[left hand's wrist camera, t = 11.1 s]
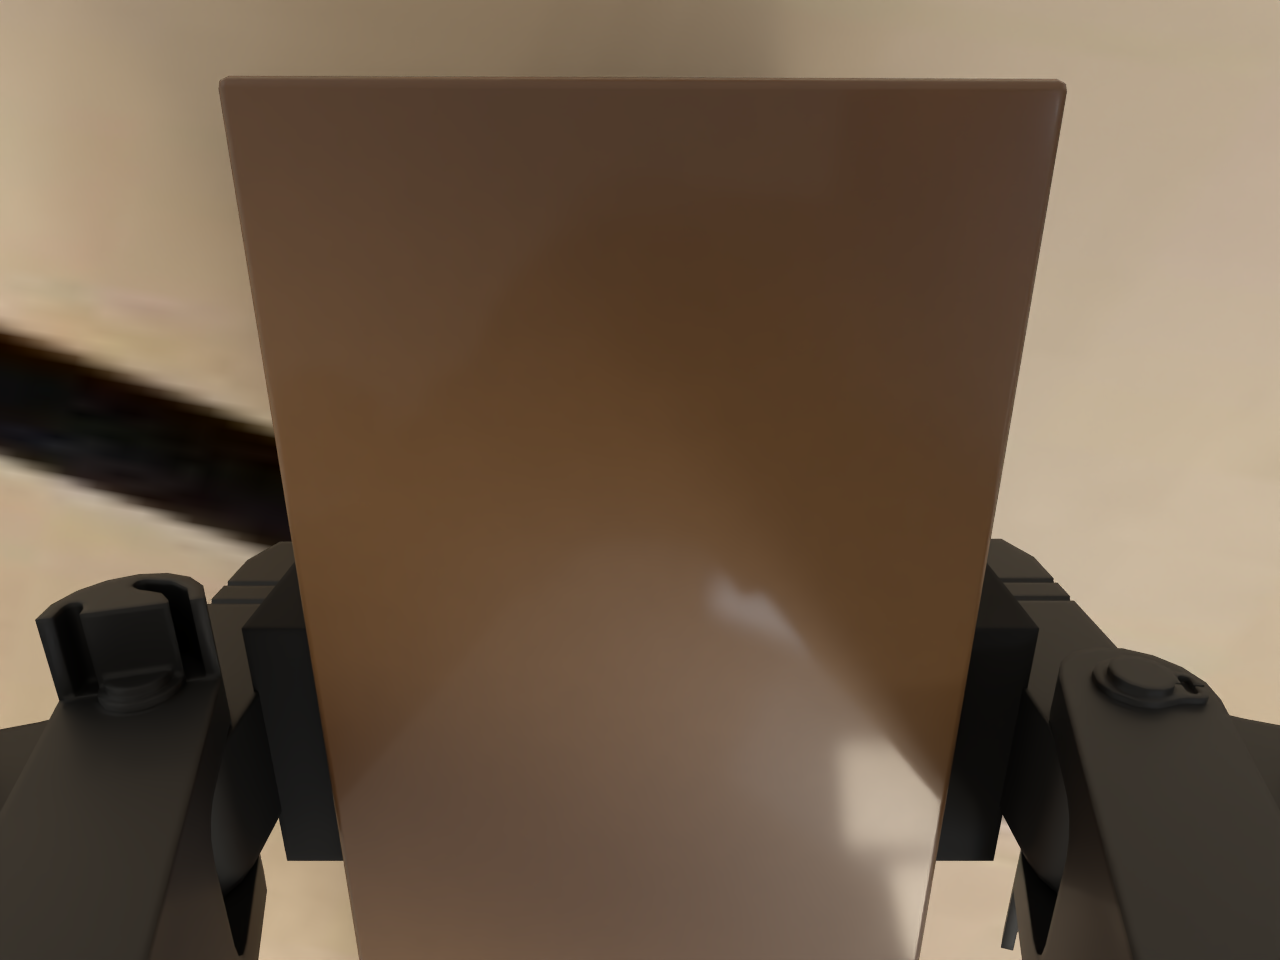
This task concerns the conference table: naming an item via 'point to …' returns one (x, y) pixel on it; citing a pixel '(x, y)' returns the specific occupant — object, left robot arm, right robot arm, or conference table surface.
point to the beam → (640, 488)
